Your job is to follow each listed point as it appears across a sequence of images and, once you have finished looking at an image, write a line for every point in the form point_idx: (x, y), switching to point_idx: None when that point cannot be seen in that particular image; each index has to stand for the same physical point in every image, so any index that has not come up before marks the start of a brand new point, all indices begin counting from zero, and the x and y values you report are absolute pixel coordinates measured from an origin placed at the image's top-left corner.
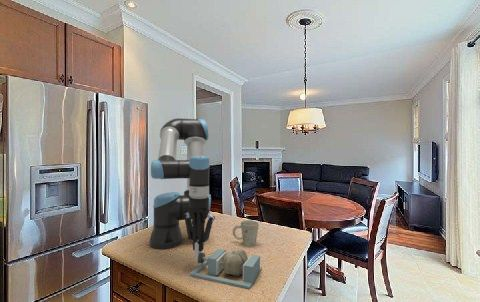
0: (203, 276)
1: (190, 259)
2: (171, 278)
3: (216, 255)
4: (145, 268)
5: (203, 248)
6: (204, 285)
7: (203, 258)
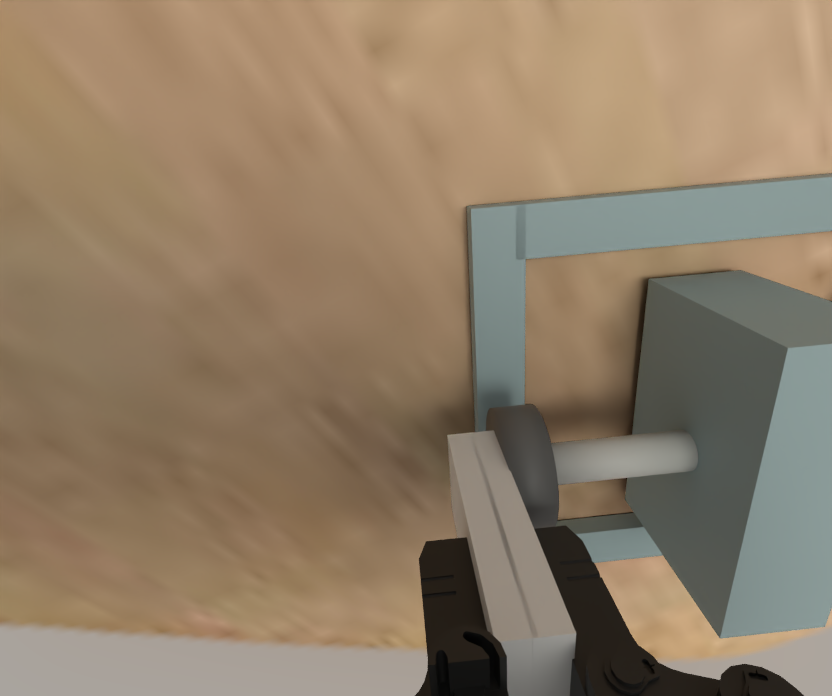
0: (618, 558)
1: (263, 317)
2: (370, 631)
3: (814, 552)
4: (45, 627)
5: (585, 548)
6: (653, 595)
7: (558, 483)
